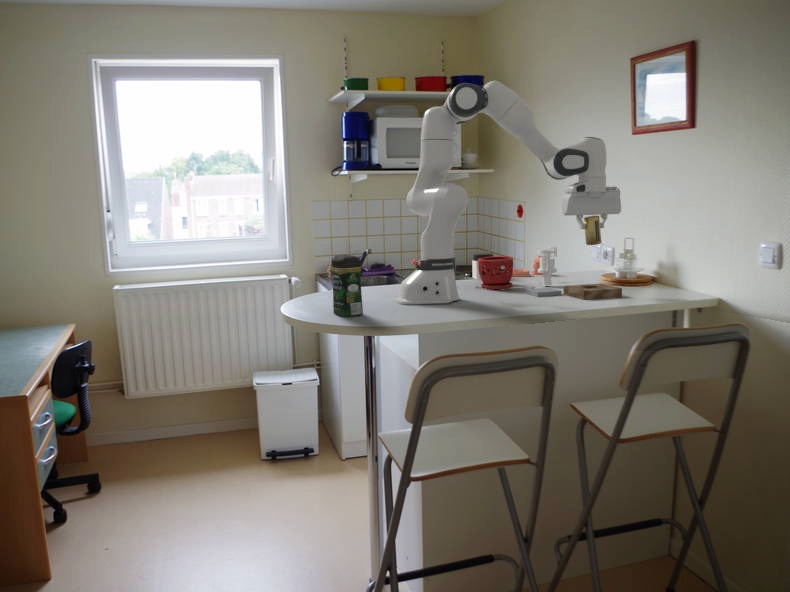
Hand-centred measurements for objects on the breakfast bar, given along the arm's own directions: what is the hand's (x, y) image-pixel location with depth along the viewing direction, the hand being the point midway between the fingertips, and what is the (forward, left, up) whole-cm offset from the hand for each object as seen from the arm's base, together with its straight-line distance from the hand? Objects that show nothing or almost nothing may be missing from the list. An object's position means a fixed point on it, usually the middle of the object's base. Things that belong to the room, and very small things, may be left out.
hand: (591, 228), depth 227 cm
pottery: (-1, +51, -23) cm, 56 cm away
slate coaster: (-13, +10, -23) cm, 28 cm away
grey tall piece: (-3, +28, -23) cm, 36 cm away
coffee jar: (-85, -5, -23) cm, 88 cm away
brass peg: (+1, 0, -5) cm, 5 cm away
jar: (-21, +48, -23) cm, 57 cm away
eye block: (0, 0, -23) cm, 23 cm away
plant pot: (-23, +30, -23) cm, 44 cm away
